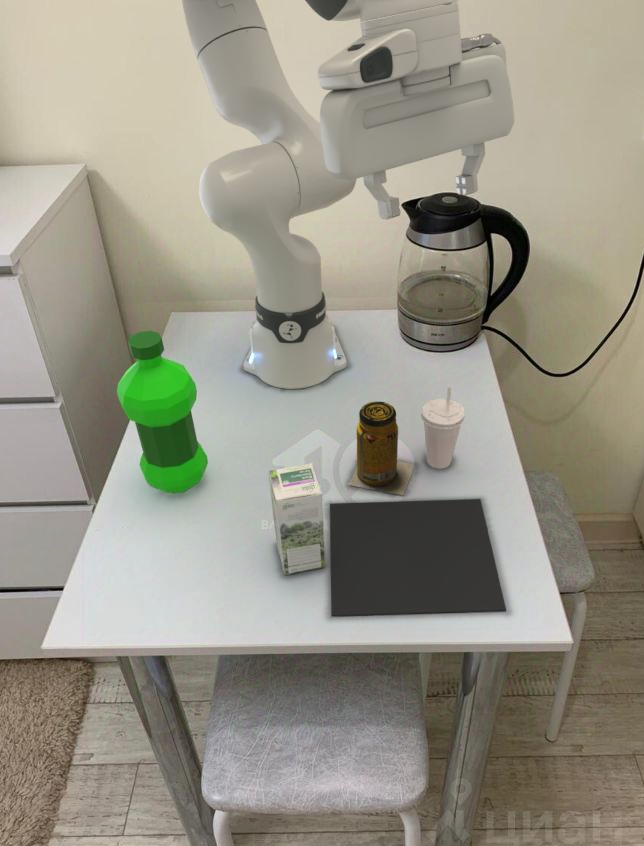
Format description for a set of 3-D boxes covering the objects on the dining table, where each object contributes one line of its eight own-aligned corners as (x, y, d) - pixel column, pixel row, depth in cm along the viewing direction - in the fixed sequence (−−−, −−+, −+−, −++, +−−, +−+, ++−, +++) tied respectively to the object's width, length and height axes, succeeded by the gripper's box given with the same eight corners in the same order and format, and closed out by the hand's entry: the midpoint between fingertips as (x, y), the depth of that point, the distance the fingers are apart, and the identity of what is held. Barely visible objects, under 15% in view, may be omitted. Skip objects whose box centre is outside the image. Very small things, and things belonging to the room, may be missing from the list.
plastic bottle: (187, 513, 105) (153, 369, 88) (130, 491, 109) (86, 349, 92) (225, 471, 112) (201, 329, 95) (170, 452, 115) (136, 312, 98)
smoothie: (457, 476, 110) (466, 402, 100) (415, 471, 111) (420, 397, 101) (461, 449, 114) (470, 376, 105) (420, 445, 115) (425, 371, 106)
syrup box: (317, 537, 101) (311, 459, 91) (326, 569, 97) (322, 491, 87) (276, 545, 100) (267, 467, 90) (284, 578, 96) (275, 499, 86)
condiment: (362, 455, 114) (362, 393, 106) (414, 465, 112) (418, 402, 104) (348, 485, 109) (346, 423, 101) (403, 497, 107) (406, 433, 98)
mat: (329, 504, 106) (329, 503, 106) (480, 500, 106) (480, 498, 106) (331, 616, 91) (331, 615, 91) (505, 611, 91) (506, 609, 91)
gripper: (482, 32, 72) (492, 177, 80) (301, 73, 66) (329, 227, 73) (524, 26, 67) (530, 182, 75) (332, 69, 61) (359, 236, 68)
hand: (429, 205), depth 74 cm, fingers open, 8 cm apart
